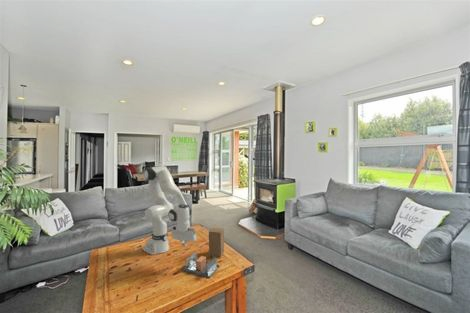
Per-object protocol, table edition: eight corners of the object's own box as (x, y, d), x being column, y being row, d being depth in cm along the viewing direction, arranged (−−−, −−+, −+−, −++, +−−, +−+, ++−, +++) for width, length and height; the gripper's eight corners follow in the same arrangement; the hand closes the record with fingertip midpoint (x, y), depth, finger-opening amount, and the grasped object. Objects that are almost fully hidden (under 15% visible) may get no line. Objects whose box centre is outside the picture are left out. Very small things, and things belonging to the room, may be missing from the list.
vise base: (182, 270, 144) (182, 260, 143) (194, 260, 156) (193, 251, 156) (209, 278, 135) (209, 266, 135) (219, 267, 148) (219, 256, 148)
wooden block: (220, 257, 161) (220, 232, 160) (208, 256, 163) (208, 231, 162) (224, 251, 171) (223, 227, 170) (212, 250, 173) (212, 227, 172)
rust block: (195, 269, 143) (195, 260, 143) (201, 264, 150) (201, 256, 149) (200, 270, 142) (200, 261, 141) (206, 265, 148) (206, 257, 148)
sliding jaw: (186, 268, 144) (186, 259, 144) (195, 260, 154) (195, 252, 154) (188, 268, 143) (188, 260, 143) (197, 260, 153) (197, 253, 153)
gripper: (197, 227, 150) (198, 246, 150) (175, 224, 158) (176, 241, 158) (192, 230, 144) (193, 249, 144) (169, 226, 152) (170, 245, 152)
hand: (184, 245), depth 151 cm, fingers closed
